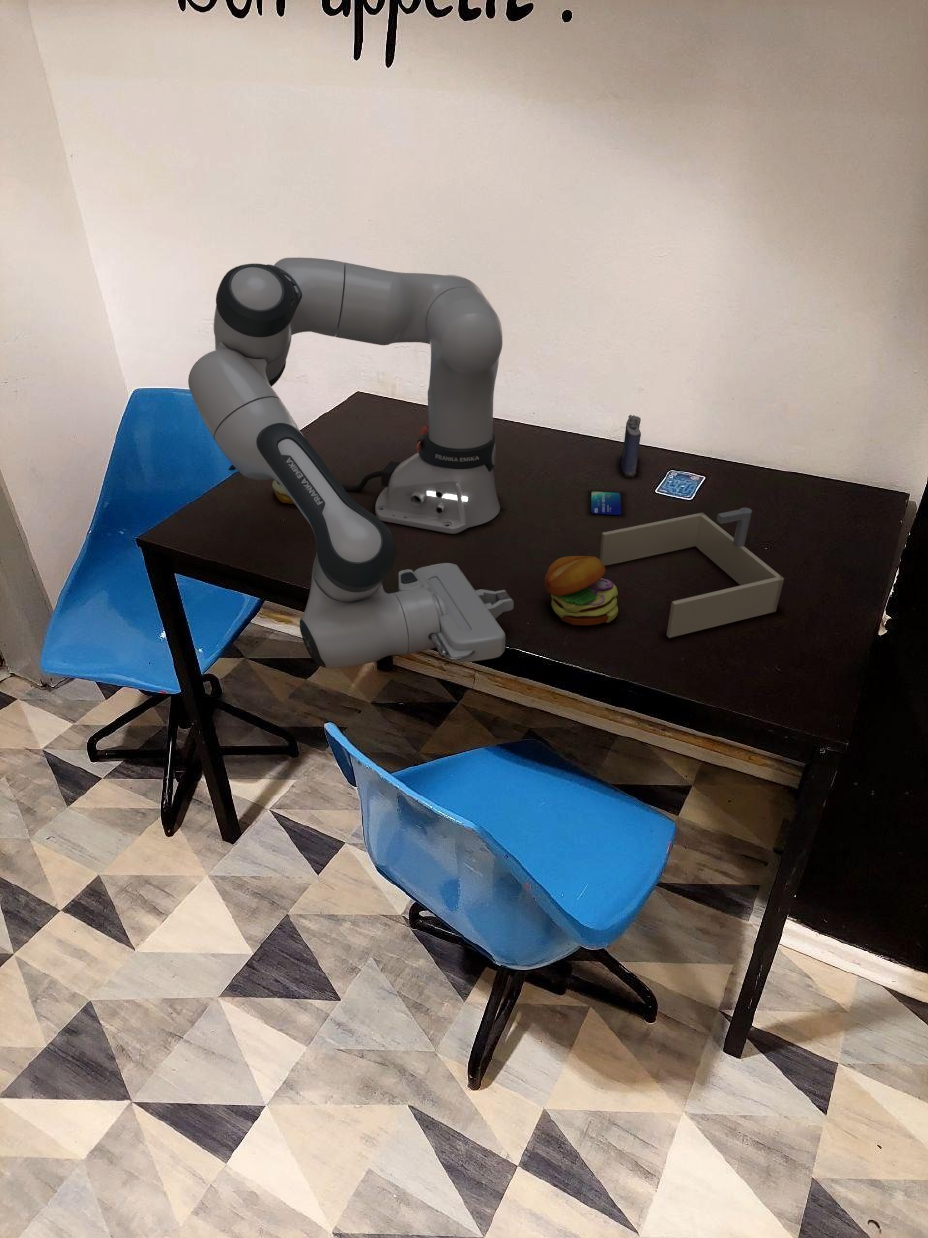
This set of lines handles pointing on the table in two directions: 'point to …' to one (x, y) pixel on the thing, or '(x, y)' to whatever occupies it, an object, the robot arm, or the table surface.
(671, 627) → the grey u-shaped wall
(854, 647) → the table surface
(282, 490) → the decorated donut
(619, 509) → the credit card
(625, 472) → the flask
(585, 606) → the cheeseburger
